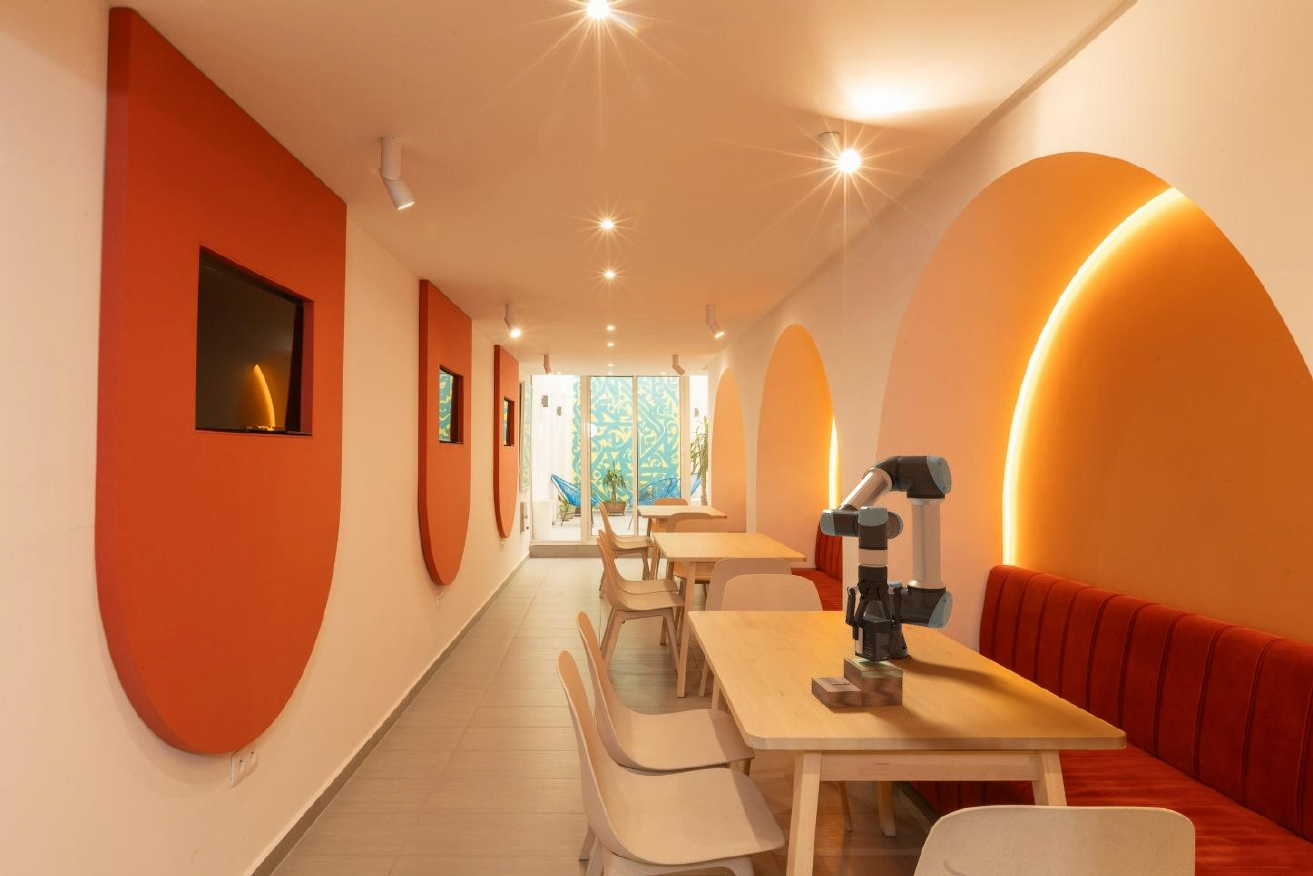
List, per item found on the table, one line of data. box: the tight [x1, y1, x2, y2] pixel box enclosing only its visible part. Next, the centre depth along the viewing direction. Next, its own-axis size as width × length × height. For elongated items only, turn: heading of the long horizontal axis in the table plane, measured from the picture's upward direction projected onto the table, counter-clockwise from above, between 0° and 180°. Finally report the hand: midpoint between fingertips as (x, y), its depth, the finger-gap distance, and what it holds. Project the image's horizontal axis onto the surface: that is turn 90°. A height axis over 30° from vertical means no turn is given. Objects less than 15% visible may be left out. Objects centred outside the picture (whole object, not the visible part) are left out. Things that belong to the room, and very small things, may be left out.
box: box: [854, 614, 892, 662], centre depth 194 cm, size 8×6×11 cm
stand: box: [811, 657, 904, 709], centre depth 193 cm, size 20×12×9 cm, turn 98°
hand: (872, 652), depth 194 cm, fingers open, 7 cm apart
